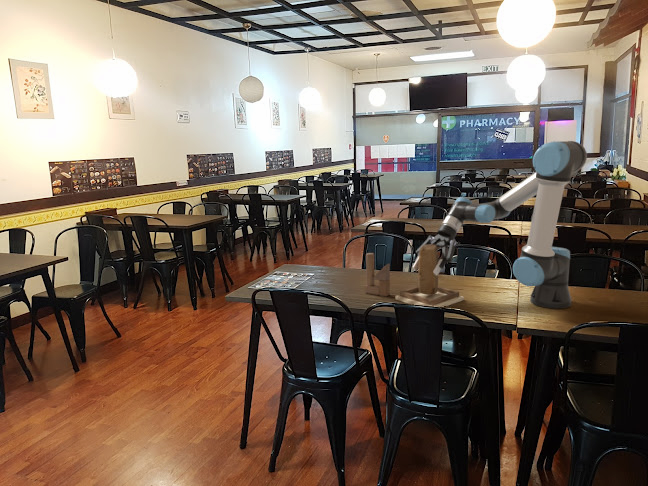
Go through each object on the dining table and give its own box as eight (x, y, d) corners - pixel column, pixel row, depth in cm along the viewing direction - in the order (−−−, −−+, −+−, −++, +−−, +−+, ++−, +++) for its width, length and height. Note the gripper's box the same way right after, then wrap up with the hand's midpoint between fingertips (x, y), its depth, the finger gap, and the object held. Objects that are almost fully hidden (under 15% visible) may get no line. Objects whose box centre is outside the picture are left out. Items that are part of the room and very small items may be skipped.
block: (435, 296, 200) (435, 248, 196) (417, 294, 203) (417, 247, 199) (439, 288, 210) (440, 243, 206) (422, 287, 213) (422, 242, 209)
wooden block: (386, 296, 212) (386, 256, 209) (364, 293, 218) (364, 253, 215) (390, 294, 215) (390, 254, 212) (368, 291, 221) (368, 252, 218)
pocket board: (463, 300, 205) (463, 292, 204) (432, 310, 193) (433, 302, 192) (426, 289, 221) (426, 282, 220) (395, 299, 208) (395, 291, 208)
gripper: (475, 237, 202) (451, 281, 196) (431, 231, 220) (408, 271, 214) (468, 226, 198) (442, 271, 192) (424, 220, 216) (399, 261, 209)
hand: (424, 271), depth 203 cm, fingers closed on block, 10 cm apart
